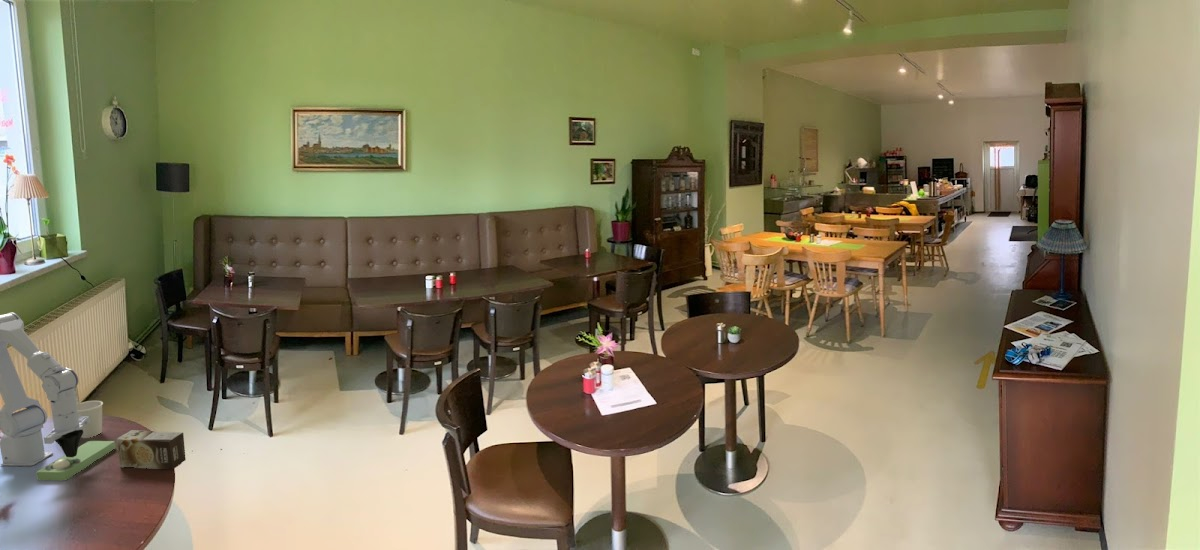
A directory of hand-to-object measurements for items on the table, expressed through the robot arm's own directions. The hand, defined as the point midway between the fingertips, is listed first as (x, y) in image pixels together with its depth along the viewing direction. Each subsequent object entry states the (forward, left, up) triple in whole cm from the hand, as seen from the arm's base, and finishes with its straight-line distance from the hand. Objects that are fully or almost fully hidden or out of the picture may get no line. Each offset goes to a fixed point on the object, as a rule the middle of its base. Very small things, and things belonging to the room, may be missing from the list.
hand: (71, 456), depth 198 cm
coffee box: (+14, +3, +1) cm, 14 cm away
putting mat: (0, +2, -3) cm, 4 cm away
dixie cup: (-11, +22, -4) cm, 25 cm away
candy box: (-20, +26, -4) cm, 33 cm away
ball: (-1, -3, -2) cm, 4 cm away
